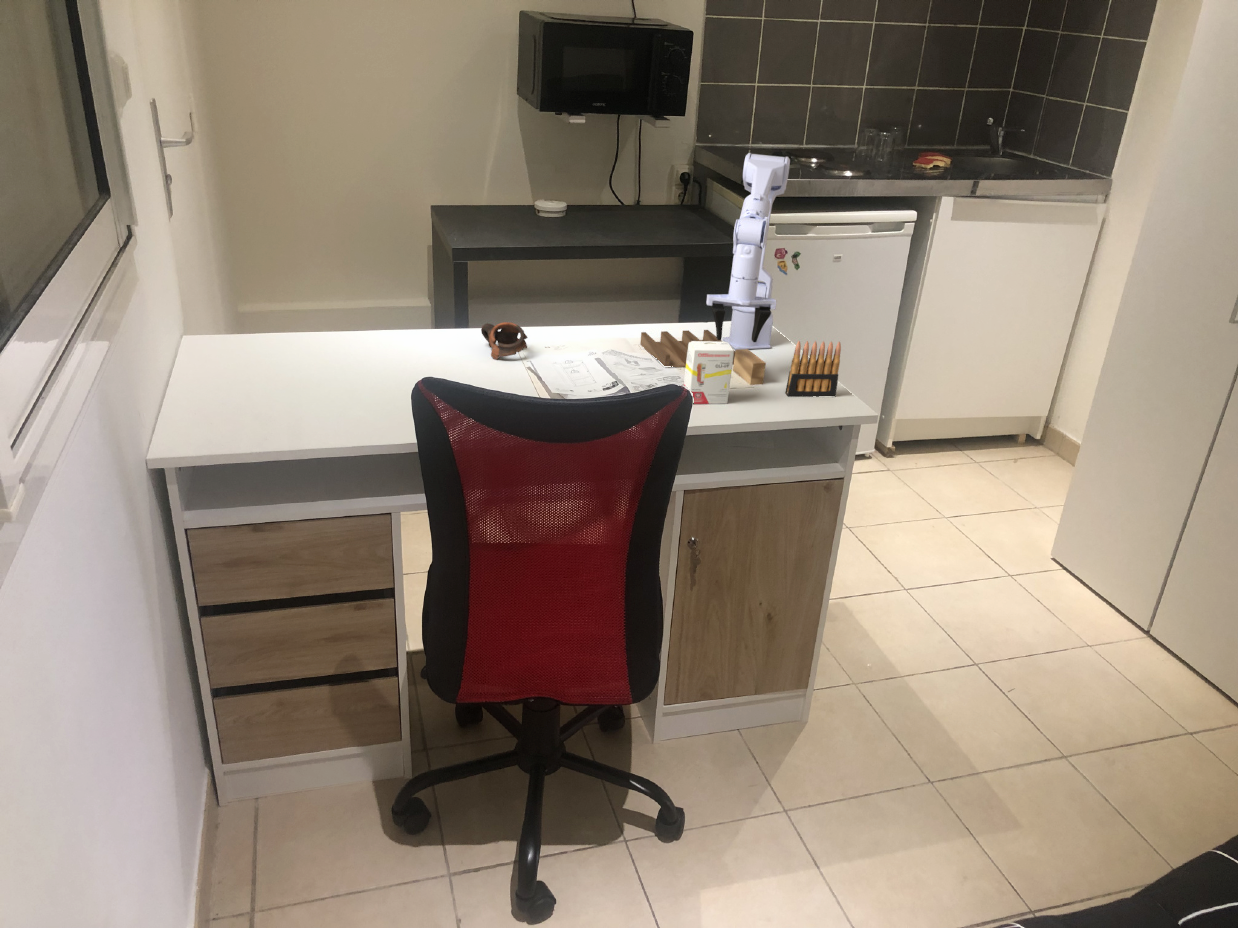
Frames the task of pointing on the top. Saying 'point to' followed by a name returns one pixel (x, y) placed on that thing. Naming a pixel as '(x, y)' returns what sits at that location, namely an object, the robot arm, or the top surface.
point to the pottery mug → (504, 339)
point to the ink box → (709, 371)
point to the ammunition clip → (814, 372)
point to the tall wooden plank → (749, 366)
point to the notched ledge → (673, 347)
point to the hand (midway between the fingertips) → (736, 340)
